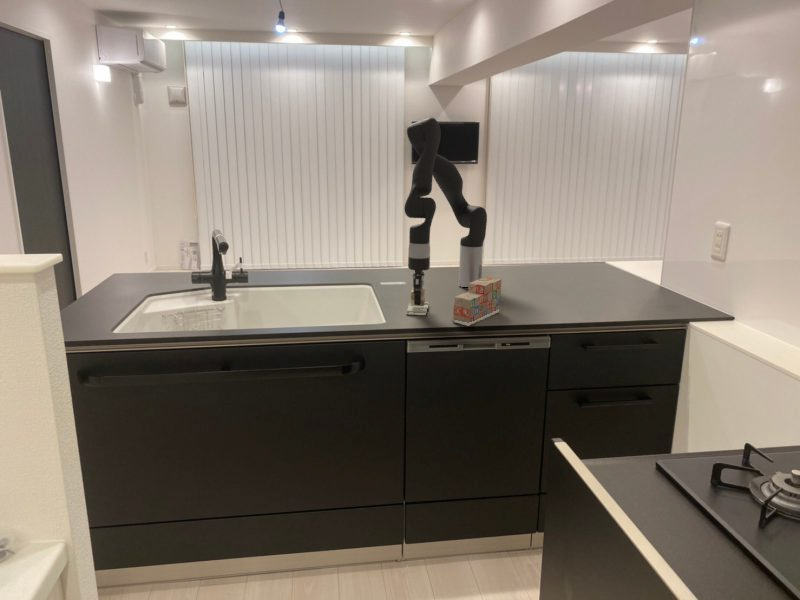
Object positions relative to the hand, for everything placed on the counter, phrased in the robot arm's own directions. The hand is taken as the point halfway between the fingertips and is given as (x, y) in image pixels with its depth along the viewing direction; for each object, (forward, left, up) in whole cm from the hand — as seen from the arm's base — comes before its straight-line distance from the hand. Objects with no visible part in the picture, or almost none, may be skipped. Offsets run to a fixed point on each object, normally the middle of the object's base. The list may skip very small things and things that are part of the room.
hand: (418, 302), depth 209 cm
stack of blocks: (-21, +5, -3) cm, 22 cm away
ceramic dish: (0, 0, -3) cm, 3 cm away
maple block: (0, 0, -1) cm, 1 cm away
